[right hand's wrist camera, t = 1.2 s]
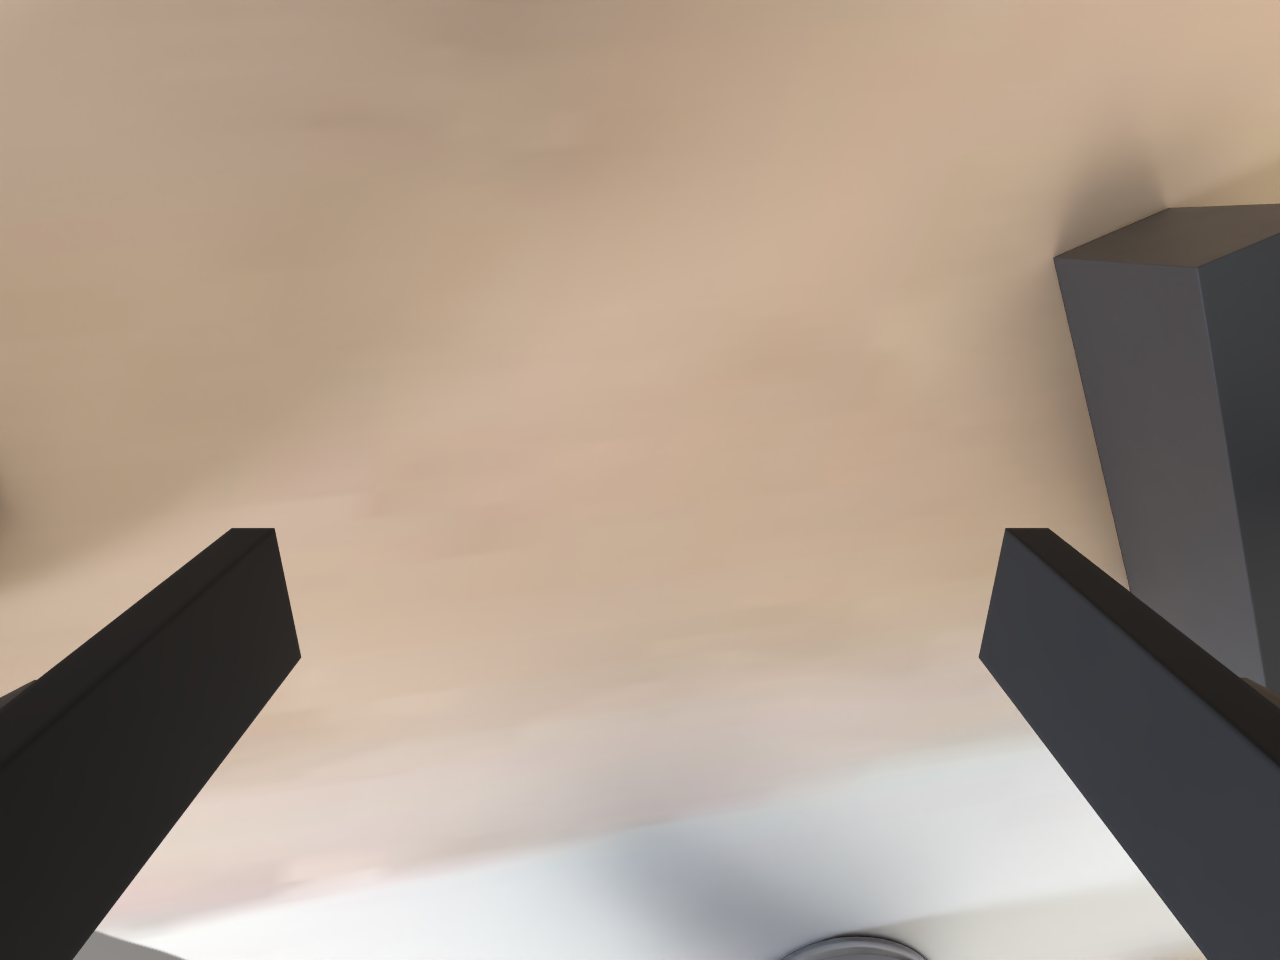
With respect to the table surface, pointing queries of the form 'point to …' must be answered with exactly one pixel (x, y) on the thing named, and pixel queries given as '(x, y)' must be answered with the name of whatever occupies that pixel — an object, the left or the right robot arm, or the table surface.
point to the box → (1190, 416)
